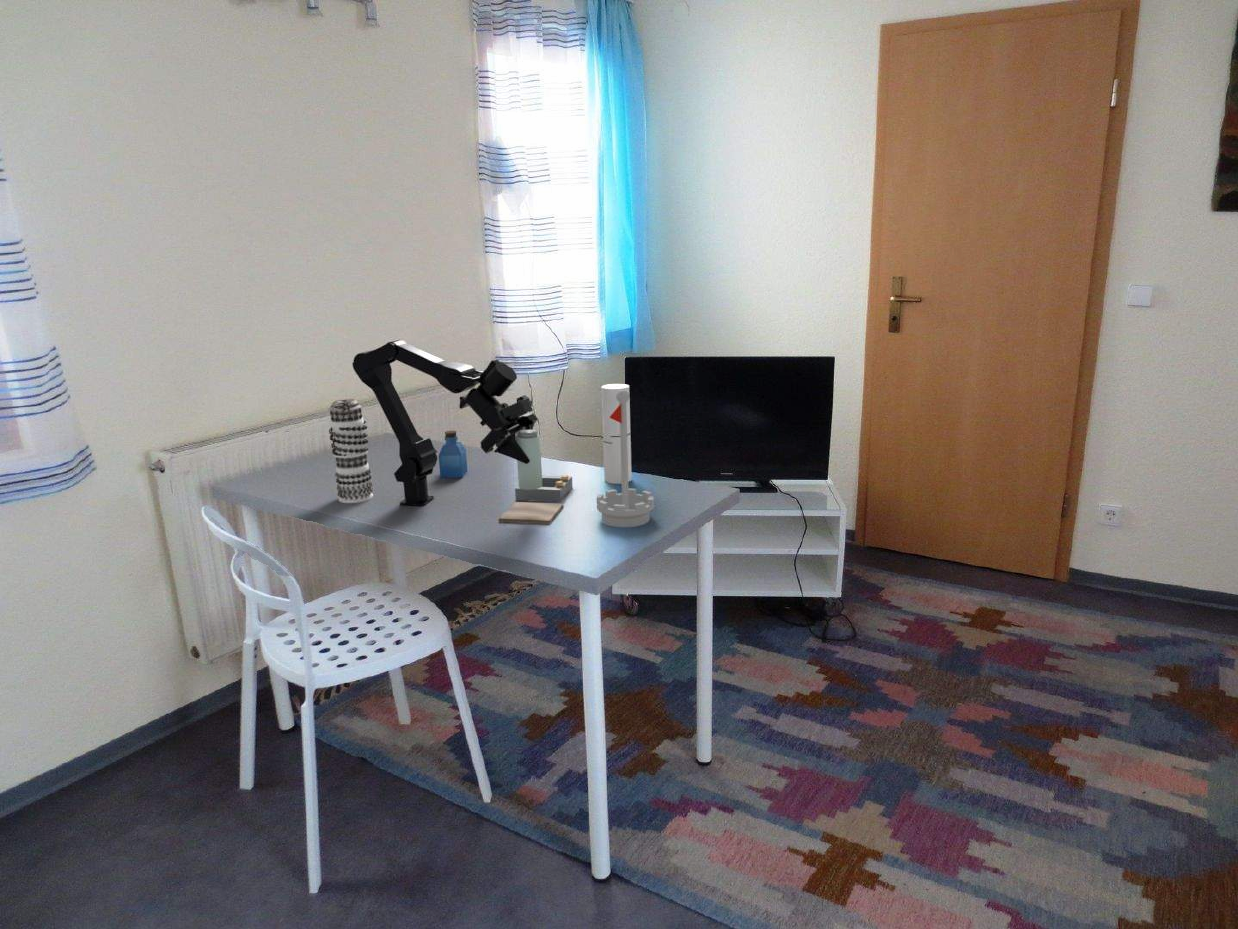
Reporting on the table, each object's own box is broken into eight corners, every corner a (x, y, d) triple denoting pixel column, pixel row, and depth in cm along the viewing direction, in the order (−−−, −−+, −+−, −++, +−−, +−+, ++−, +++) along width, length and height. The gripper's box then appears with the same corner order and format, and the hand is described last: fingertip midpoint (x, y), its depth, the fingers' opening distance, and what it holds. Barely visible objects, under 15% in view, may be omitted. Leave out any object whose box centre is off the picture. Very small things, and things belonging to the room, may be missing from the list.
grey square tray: (560, 501, 209) (559, 486, 207) (515, 500, 211) (514, 484, 210) (572, 487, 219) (571, 472, 218) (529, 486, 222) (528, 471, 221)
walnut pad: (549, 524, 193) (549, 520, 193) (499, 521, 196) (498, 518, 195) (563, 507, 205) (563, 503, 204) (515, 505, 207) (515, 502, 207)
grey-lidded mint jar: (530, 491, 195) (527, 435, 191) (513, 486, 198) (510, 432, 195) (547, 485, 199) (544, 431, 195) (530, 481, 202) (527, 427, 199)
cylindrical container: (628, 484, 221) (626, 389, 214) (601, 483, 222) (598, 388, 216) (633, 476, 228) (631, 383, 221) (607, 475, 229) (604, 383, 222)
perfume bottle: (463, 477, 231) (459, 434, 228) (440, 477, 231) (436, 434, 228) (467, 471, 237) (464, 429, 234) (445, 471, 237) (441, 429, 234)
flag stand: (618, 506, 204) (615, 382, 196) (665, 515, 197) (663, 387, 189) (585, 522, 194) (580, 392, 186) (633, 532, 186) (630, 398, 178)
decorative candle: (382, 493, 219) (371, 397, 212) (361, 504, 210) (349, 405, 204) (351, 491, 222) (340, 396, 215) (329, 502, 213) (317, 404, 206)
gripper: (489, 394, 185) (537, 447, 184) (528, 379, 202) (572, 427, 201) (460, 427, 190) (507, 478, 189) (501, 409, 207) (544, 457, 206)
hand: (534, 459), depth 196 cm, fingers closed on grey-lidded mint jar, 5 cm apart
